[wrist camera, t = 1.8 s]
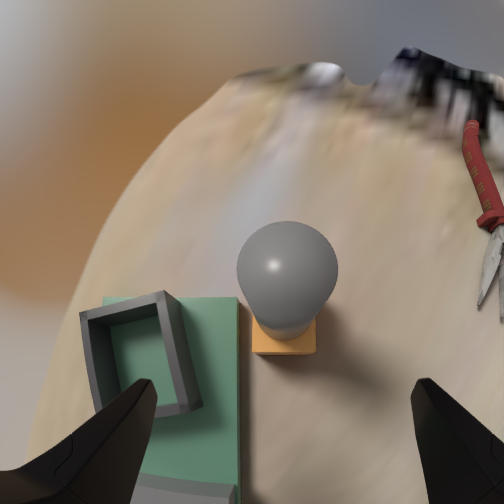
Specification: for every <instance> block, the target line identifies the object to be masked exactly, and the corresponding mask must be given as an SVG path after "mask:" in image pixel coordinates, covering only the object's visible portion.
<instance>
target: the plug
mask: <svg viewBox="0 0 504 504" xmlns="http://www.w3.org/2000/svg"><path fill="white" fill-rule="evenodd" d="M337 276H338V263H337V258H336V255H335V252H334V250H333V248H332V246H331V244H330V243H329V242H328V240H327V239H326V238H325V237H324V236H323V235H322V234H321V233H320V232H318V231H317V230H315V229H314V228H312V227H310V226H308V225H305V224H302V223H298V222H291V221H283V222H276V223H272V224H269V225H267V226H265V227H262V228H261V229H259V230H257V231H256V232H255V233H254V234H252V235H251V237H250V238H249V239H248V240H247V241H246V242H245V244H244V246H243V247H242V249H241V251H240V254H239V257H238V261H237V277H238V282H239V285H240V287H241V290H242V292H243V294H244V296H245V298H246V300H247V302H248V304H249V306H250V308H251V310H252V313H253V327H252V352H253V353H255V354H257V355H309V354H312V353H314V352H316V316H317V314H318V313H319V311H320V310H321V308H322V307H323V305H324V304H325V303H326V301H327V300H328V298H329V297H330V295H331V293H332V292H333V290H334V287H335V285H336V281H337Z"/></svg>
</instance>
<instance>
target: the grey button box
mask: <svg viewBox="0 0 504 504" xmlns="http://www.w3.org/2000/svg"><path fill="white" fill-rule="evenodd" d="M130 504H235V484H224V483H211V482H201V481H192V480H184V479H177V478H170V477H164V476H158V475H152V474H147V473H142V472H139V475H138V478H137V482H136V485H135V488H134V492H133V495H132V498H131V502H130Z"/></svg>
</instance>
